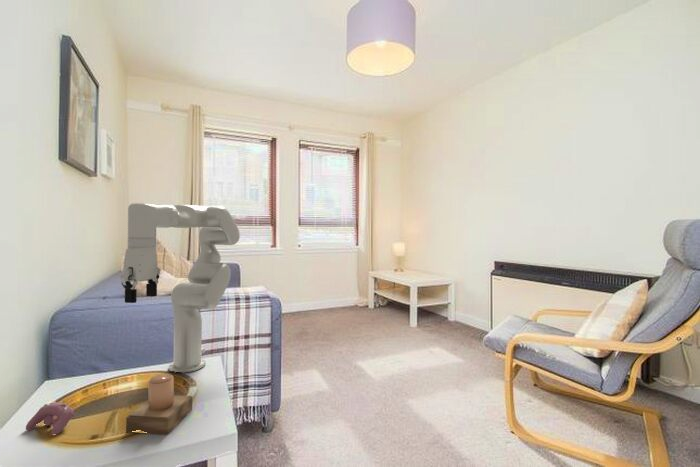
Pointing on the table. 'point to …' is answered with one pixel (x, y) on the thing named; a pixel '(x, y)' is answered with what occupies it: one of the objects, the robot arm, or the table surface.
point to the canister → (161, 392)
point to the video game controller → (52, 417)
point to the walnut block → (159, 417)
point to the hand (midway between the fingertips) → (141, 299)
